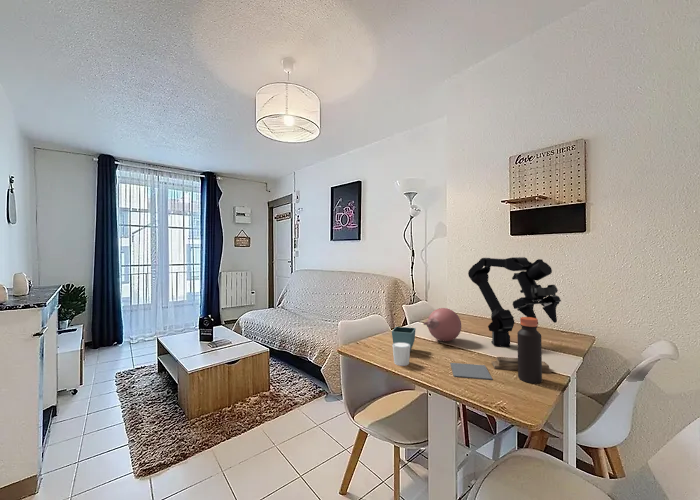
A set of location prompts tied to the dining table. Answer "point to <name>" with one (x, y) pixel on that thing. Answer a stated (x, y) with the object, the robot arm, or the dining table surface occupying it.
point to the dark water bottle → (529, 351)
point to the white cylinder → (401, 353)
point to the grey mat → (470, 371)
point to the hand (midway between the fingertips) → (546, 323)
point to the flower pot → (404, 335)
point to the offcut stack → (514, 364)
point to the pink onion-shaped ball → (444, 324)
